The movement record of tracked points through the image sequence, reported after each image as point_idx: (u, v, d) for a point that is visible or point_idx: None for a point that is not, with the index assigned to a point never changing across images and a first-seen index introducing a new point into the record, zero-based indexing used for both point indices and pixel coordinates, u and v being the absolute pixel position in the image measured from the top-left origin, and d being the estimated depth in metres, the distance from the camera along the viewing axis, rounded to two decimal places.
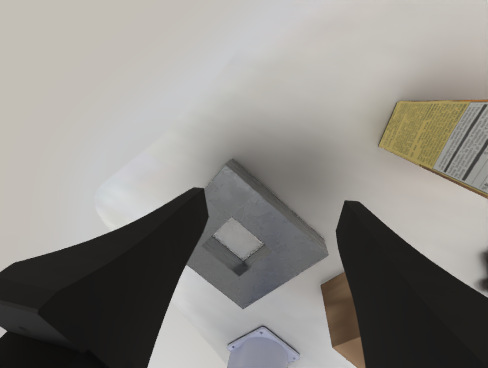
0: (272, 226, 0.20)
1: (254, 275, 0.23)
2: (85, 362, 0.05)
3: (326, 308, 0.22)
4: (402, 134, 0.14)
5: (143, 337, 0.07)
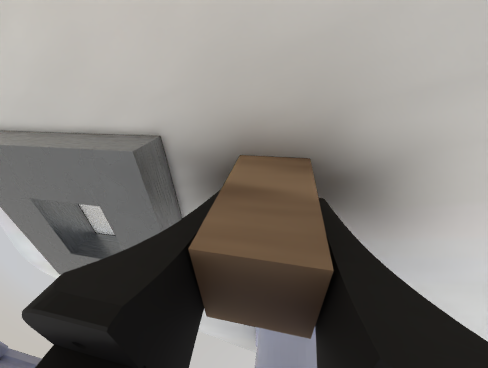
0: (53, 173, 0.12)
1: None
2: None
3: None
4: None
5: (184, 347, 0.06)
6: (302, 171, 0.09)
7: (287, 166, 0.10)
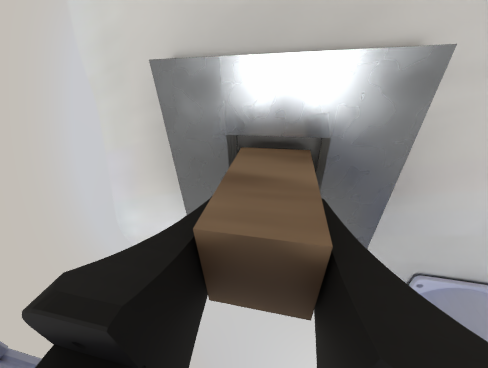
0: (293, 93, 0.10)
1: (334, 202, 0.13)
2: None
3: None
4: None
5: (184, 348, 0.06)
6: (302, 161, 0.10)
7: (288, 157, 0.10)
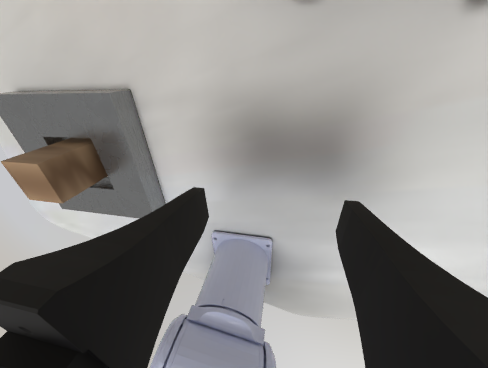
0: (60, 114, 0.18)
1: (116, 177, 0.21)
2: (85, 362, 0.05)
3: None
4: None
5: (143, 337, 0.07)
6: (89, 141, 0.20)
7: (87, 140, 0.21)
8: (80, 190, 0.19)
